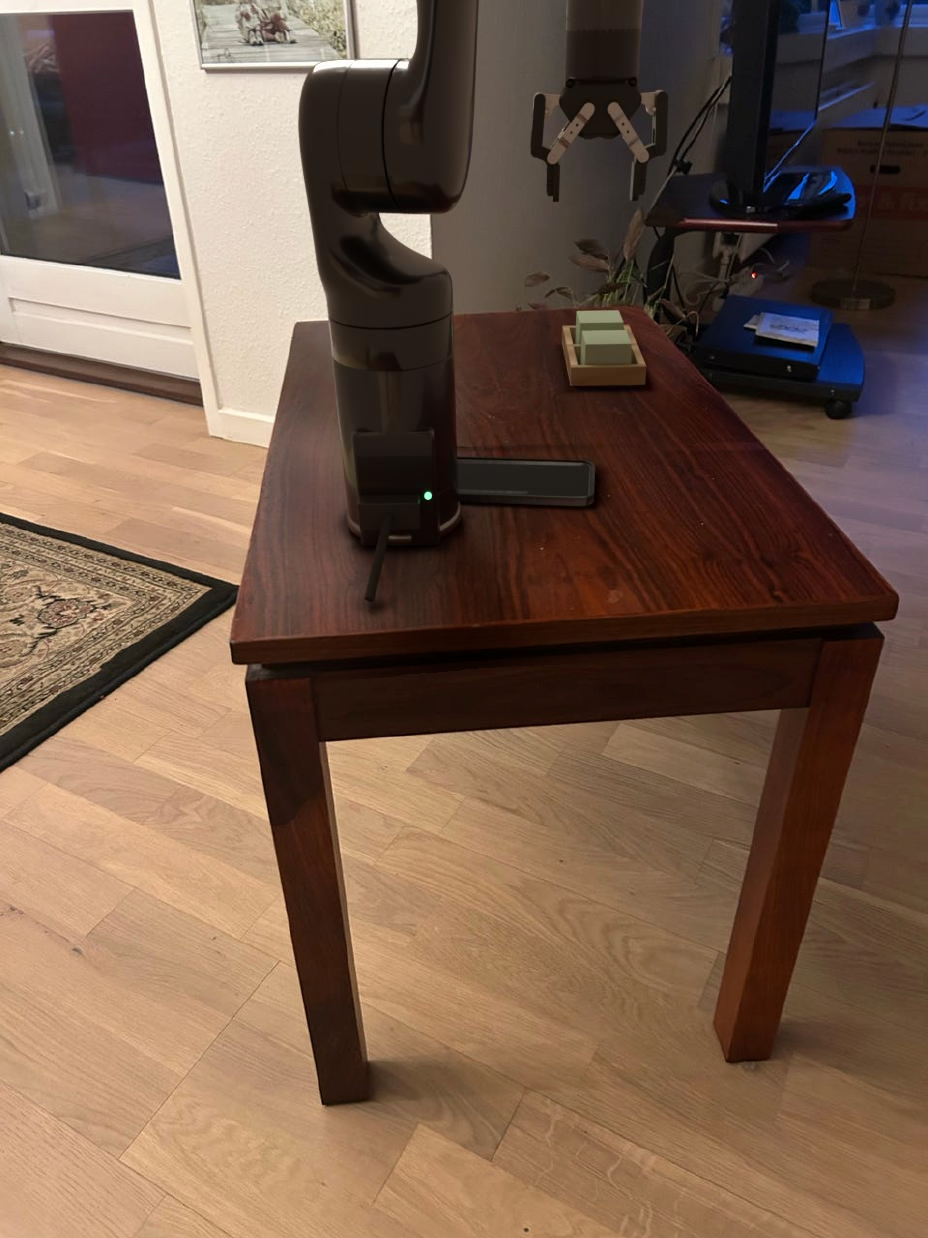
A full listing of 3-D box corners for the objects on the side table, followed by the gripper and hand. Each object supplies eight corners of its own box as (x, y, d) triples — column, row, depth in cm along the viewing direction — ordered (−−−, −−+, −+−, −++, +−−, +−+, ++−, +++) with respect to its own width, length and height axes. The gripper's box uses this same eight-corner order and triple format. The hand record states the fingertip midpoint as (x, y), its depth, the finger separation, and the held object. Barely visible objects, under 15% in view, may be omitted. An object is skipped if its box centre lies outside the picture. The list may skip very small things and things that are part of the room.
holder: (644, 389, 103) (646, 366, 102) (570, 390, 104) (571, 367, 102) (627, 345, 116) (629, 324, 115) (561, 346, 117) (562, 325, 115)
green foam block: (629, 379, 104) (631, 343, 102) (583, 380, 105) (585, 344, 102) (623, 364, 109) (626, 329, 106) (580, 365, 109) (581, 330, 107)
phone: (433, 455, 88) (595, 459, 86) (433, 466, 89) (594, 471, 87) (419, 493, 82) (594, 498, 80) (419, 504, 82) (593, 510, 80)
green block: (621, 356, 110) (623, 322, 108) (578, 357, 110) (580, 322, 108) (616, 343, 115) (618, 309, 112) (575, 344, 115) (576, 310, 112)
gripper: (533, 27, 91) (530, 207, 100) (681, 23, 91) (665, 205, 100) (531, 25, 98) (528, 195, 106) (669, 22, 97) (655, 193, 106)
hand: (594, 200), depth 103 cm, fingers open, 8 cm apart
